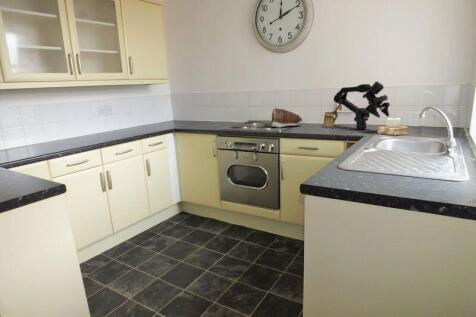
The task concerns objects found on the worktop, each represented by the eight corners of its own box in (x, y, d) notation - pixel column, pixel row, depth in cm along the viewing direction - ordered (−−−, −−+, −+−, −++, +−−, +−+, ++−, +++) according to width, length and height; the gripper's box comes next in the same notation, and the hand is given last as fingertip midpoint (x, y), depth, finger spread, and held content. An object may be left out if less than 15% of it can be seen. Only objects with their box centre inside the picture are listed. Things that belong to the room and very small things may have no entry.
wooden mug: (341, 127, 248) (342, 103, 244) (323, 127, 250) (324, 104, 246) (339, 125, 257) (340, 103, 253) (322, 125, 259) (322, 103, 255)
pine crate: (377, 133, 215) (378, 126, 213) (390, 131, 221) (390, 125, 220) (395, 136, 203) (395, 129, 202) (408, 133, 210) (408, 127, 208)
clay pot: (306, 112, 252) (275, 107, 251) (303, 131, 254) (272, 126, 253) (301, 112, 267) (272, 108, 266) (298, 131, 269) (269, 126, 267)
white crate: (385, 132, 213) (386, 118, 211) (391, 131, 216) (392, 117, 214) (394, 133, 208) (395, 119, 206) (399, 132, 211) (401, 118, 209)
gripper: (370, 91, 211) (383, 110, 205) (389, 90, 220) (401, 108, 214) (359, 102, 220) (371, 120, 214) (378, 101, 229) (389, 118, 222)
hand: (384, 116), depth 216 cm, fingers open, 9 cm apart
